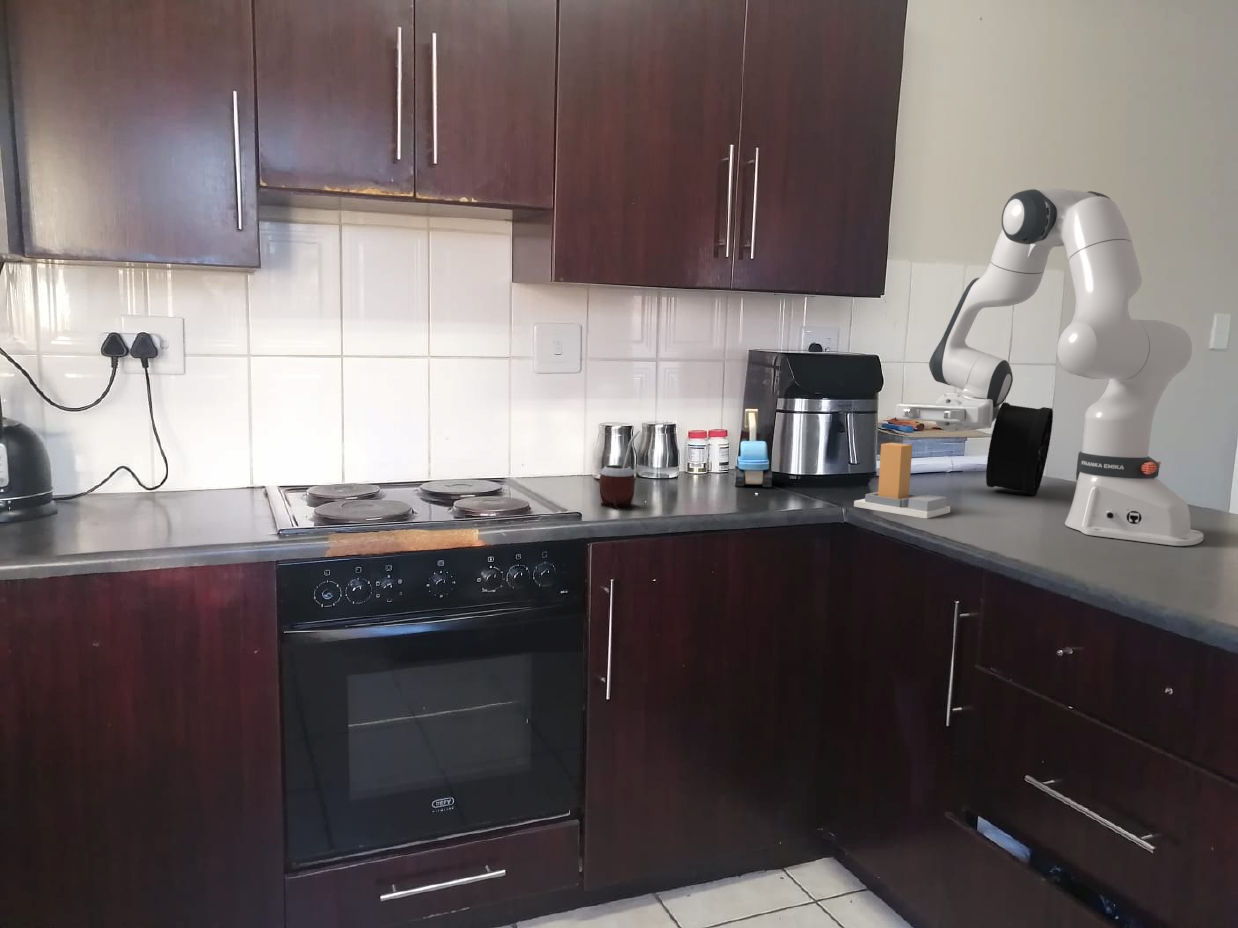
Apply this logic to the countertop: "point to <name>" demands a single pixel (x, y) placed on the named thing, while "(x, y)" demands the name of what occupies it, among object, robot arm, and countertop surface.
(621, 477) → the mate gourd
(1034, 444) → the car wheel rim
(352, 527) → the countertop surface
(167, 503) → the countertop surface
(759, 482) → the toy excavator
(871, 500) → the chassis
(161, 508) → the countertop surface
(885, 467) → the tall tan wooden block
